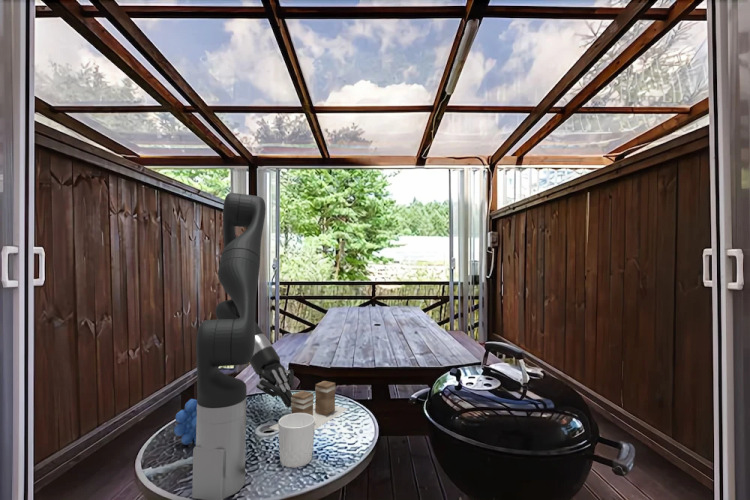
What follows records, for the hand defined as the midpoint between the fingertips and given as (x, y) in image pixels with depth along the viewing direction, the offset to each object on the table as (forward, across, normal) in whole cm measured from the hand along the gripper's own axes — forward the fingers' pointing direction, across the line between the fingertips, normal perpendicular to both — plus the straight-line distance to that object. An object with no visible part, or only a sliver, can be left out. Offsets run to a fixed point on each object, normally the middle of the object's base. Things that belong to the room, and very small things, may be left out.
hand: (292, 405), depth 101 cm
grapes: (-5, -18, +14) cm, 23 cm away
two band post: (+6, 0, +1) cm, 6 cm away
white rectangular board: (+6, +5, +2) cm, 8 cm away
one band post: (+6, +10, +1) cm, 12 cm away
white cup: (+14, -13, -5) cm, 20 cm away
